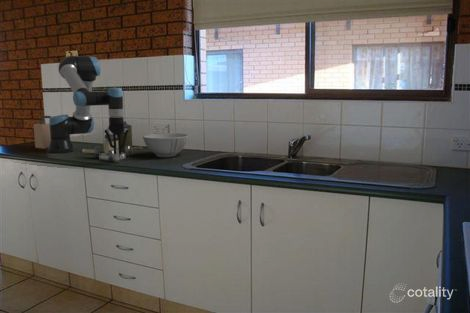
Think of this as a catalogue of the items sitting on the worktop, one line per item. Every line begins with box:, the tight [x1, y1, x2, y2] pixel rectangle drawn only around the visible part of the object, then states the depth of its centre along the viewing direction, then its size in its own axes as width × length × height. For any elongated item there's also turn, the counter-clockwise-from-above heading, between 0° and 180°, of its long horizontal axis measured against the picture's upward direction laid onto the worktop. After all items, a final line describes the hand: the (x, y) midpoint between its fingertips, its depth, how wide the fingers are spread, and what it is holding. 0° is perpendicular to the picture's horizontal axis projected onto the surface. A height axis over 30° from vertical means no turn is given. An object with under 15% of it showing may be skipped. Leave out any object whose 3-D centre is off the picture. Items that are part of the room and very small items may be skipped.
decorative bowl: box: [142, 132, 189, 158], centre depth 255 cm, size 27×27×12 cm
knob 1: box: [108, 150, 124, 162], centre depth 235 cm, size 12×3×6 cm, turn 56°
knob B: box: [81, 146, 101, 159], centre depth 251 cm, size 12×3×6 cm, turn 73°
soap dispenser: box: [33, 115, 52, 149], centre depth 293 cm, size 13×9×22 cm
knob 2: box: [125, 145, 144, 157], centre depth 257 cm, size 12×3×6 cm, turn 133°
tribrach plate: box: [98, 133, 127, 162], centre depth 247 cm, size 15×15×14 cm
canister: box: [116, 121, 134, 155], centre depth 262 cm, size 11×10×20 cm
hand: (117, 160), depth 232 cm, fingers closed
